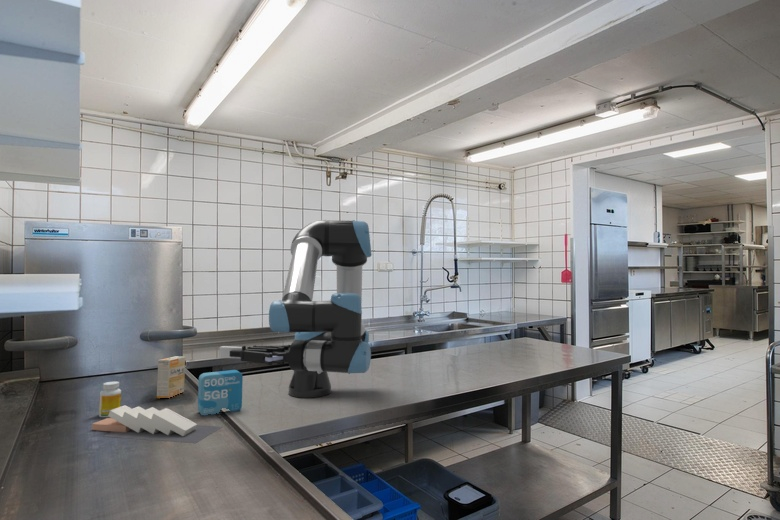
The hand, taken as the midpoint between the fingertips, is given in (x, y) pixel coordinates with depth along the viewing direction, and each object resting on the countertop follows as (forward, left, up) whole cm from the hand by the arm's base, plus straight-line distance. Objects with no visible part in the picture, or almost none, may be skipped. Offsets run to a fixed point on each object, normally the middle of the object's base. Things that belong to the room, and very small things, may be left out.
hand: (221, 351), depth 110 cm
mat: (+16, -1, -22) cm, 27 cm away
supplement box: (+39, -34, -22) cm, 56 cm away
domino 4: (+13, -1, -21) cm, 24 cm away
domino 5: (+9, -1, -21) cm, 22 cm away
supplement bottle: (+42, -11, -22) cm, 48 cm away
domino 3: (+17, -1, -21) cm, 27 cm away
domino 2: (+21, -1, -21) cm, 30 cm away
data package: (+12, -20, -22) cm, 32 cm away
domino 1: (+25, -1, -21) cm, 33 cm away
